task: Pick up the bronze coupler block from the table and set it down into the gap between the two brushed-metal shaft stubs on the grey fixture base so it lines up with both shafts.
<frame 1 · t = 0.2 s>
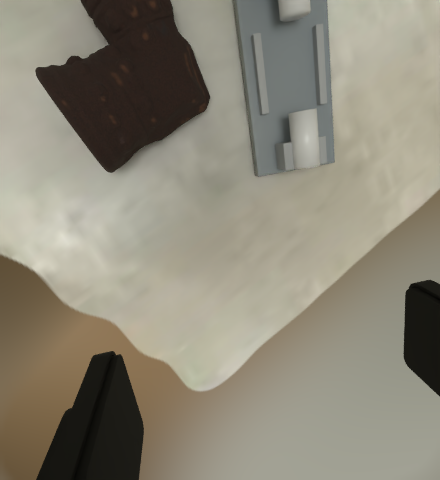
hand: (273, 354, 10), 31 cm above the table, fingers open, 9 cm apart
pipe: (128, 79, 34), on the table
grey fixture base: (284, 75, 36), on the table
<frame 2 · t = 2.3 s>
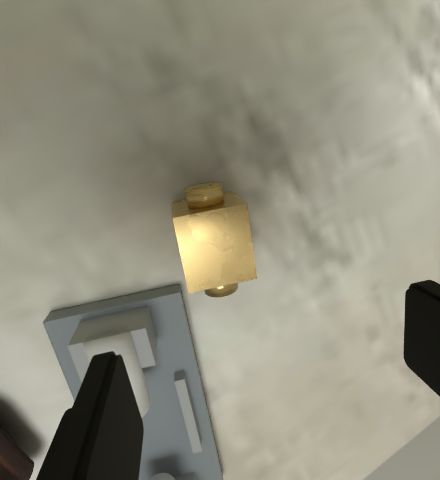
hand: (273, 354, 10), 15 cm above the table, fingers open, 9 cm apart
coupler: (207, 228, 23), on the table
grey fixture base: (149, 404, 27), on the table
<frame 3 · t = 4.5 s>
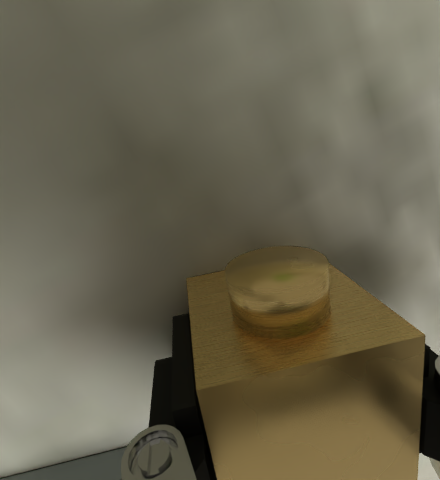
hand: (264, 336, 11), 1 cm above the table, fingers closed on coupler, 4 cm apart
coupler: (259, 326, 11), on the table, touching gripper
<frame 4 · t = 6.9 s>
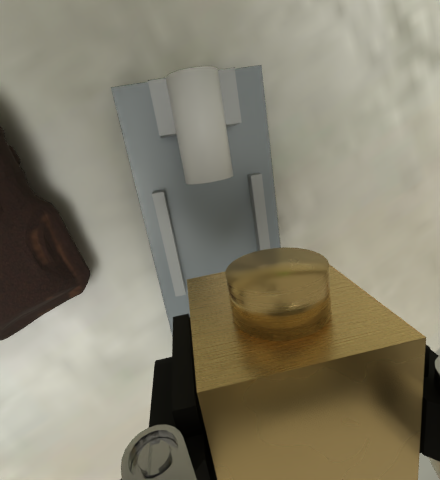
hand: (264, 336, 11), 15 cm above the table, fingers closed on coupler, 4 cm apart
coupler: (260, 327, 11), point 14 cm above the table, touching gripper
grey fixture base: (212, 229, 25), on the table
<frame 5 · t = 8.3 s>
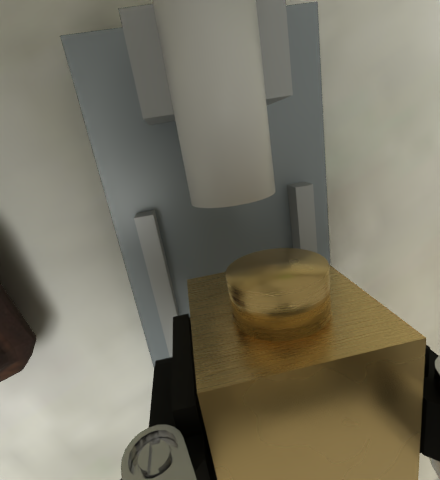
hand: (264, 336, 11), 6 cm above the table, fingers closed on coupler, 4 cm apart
coupler: (260, 328, 11), point 6 cm above the table, touching gripper
grey fixture base: (229, 264, 17), on the table
when the fingers open (4 cm above the table, at t = 9.6 s): coupler drops 2 cm, resting on grey fixture base.
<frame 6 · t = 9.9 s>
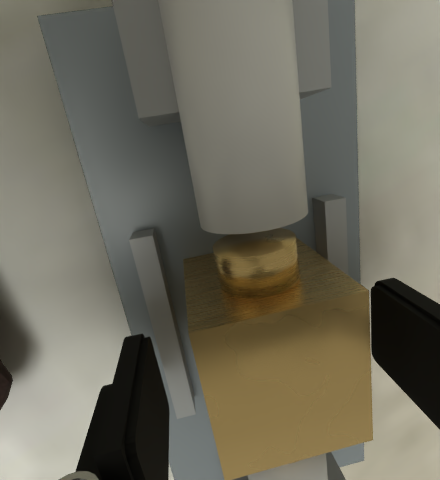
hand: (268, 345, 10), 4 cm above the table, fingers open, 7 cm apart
coupler: (248, 302, 13), point 1 cm above the table, touching grey fixture base
grey fixture base: (241, 288, 14), on the table
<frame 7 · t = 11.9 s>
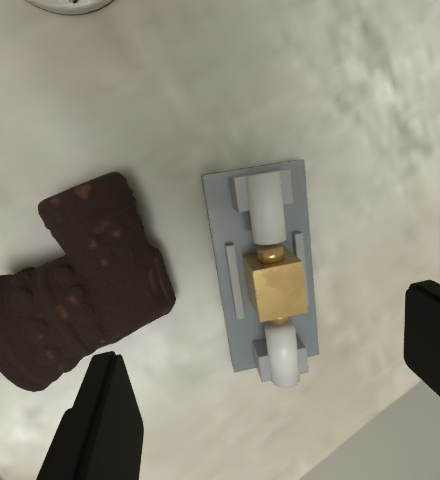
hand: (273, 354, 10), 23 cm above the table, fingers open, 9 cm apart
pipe: (91, 265, 32), on the table
coupler: (266, 273, 32), point 1 cm above the table, touching grey fixture base
grey fixture base: (262, 269, 33), on the table
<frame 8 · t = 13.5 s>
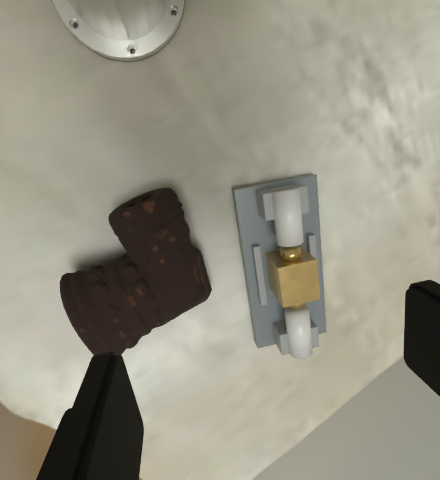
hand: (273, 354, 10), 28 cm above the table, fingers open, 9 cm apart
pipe: (140, 261, 38), on the table
coupler: (284, 267, 39), point 1 cm above the table, touching grey fixture base
grey fixture base: (281, 263, 40), on the table
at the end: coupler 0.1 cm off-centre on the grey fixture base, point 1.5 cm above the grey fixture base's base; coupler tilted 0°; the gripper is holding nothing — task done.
